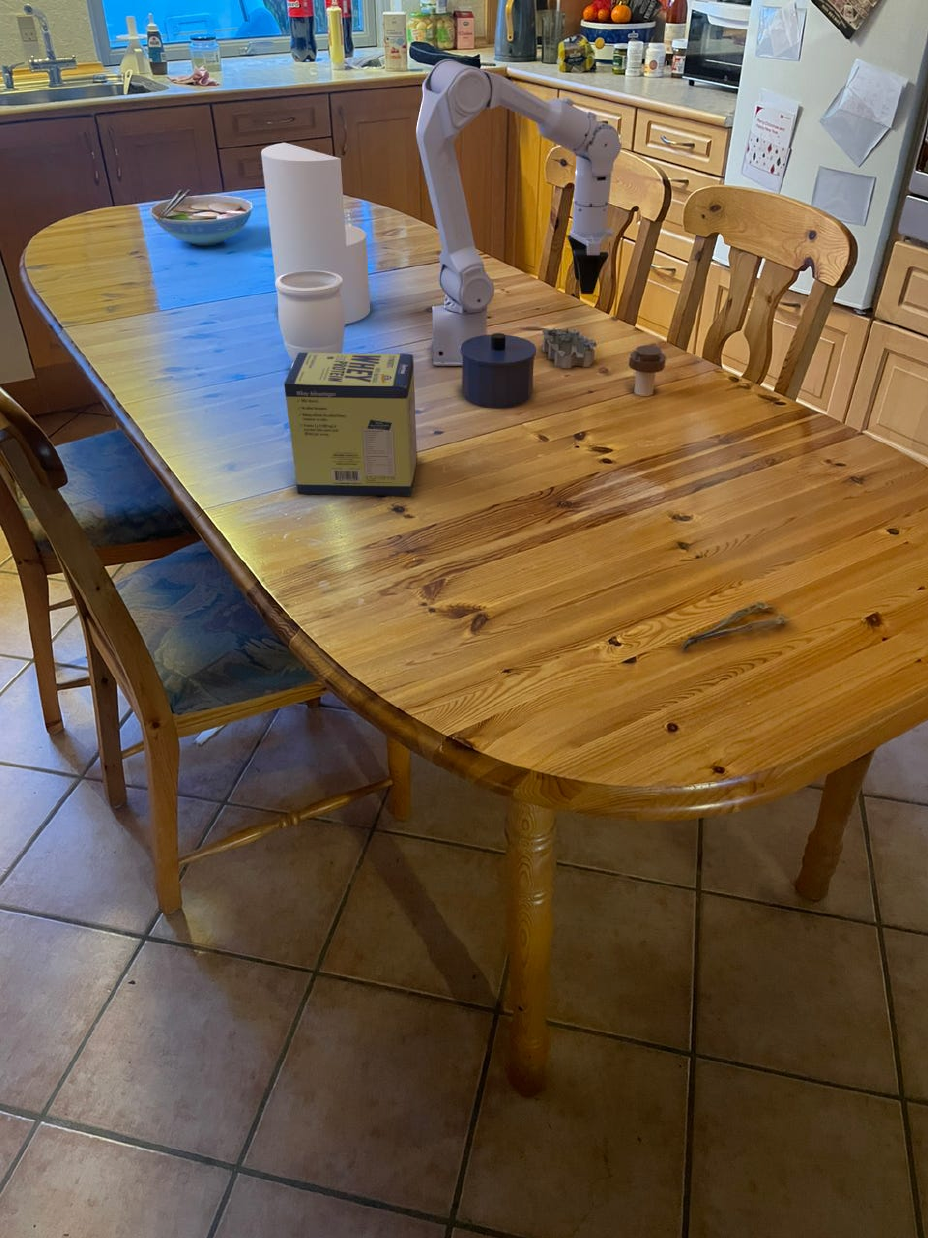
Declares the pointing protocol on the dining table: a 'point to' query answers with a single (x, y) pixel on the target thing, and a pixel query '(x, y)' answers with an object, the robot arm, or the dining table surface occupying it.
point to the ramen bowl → (202, 217)
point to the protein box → (352, 423)
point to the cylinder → (314, 222)
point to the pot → (497, 384)
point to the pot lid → (498, 350)
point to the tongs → (732, 619)
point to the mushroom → (646, 368)
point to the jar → (311, 312)
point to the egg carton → (568, 347)
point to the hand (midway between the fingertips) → (584, 286)
